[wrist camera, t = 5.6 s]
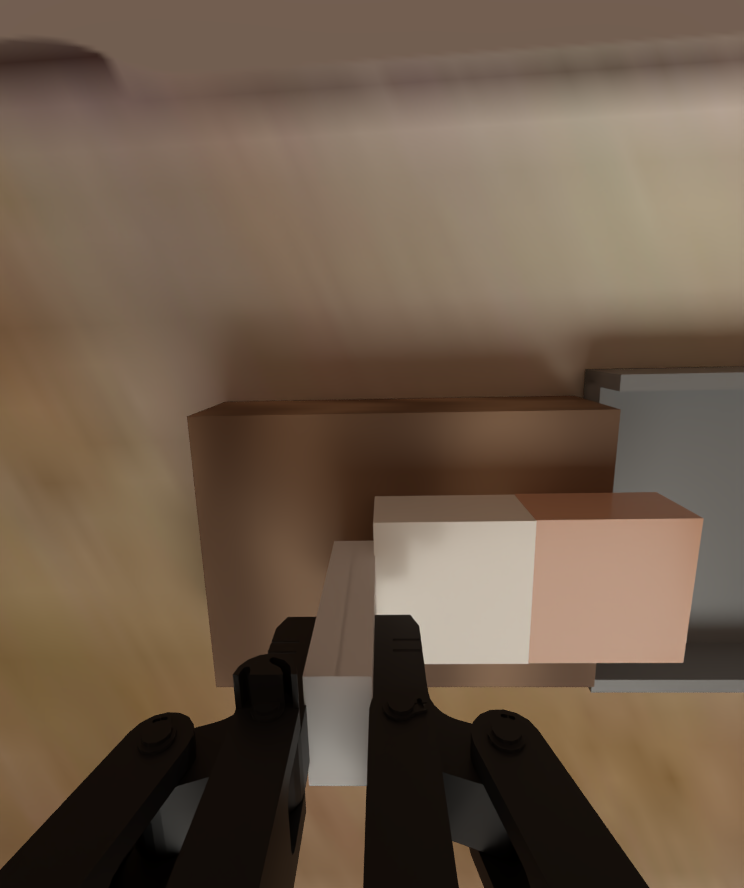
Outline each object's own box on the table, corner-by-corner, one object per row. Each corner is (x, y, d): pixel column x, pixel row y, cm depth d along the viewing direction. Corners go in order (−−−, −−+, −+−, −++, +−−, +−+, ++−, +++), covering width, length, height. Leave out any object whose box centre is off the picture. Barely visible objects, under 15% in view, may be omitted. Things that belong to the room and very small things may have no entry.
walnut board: (245, 627, 23) (216, 686, 19) (225, 401, 20) (187, 416, 16) (556, 626, 22) (594, 687, 18) (574, 395, 20) (621, 409, 16)
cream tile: (377, 620, 18) (376, 664, 15) (374, 496, 17) (372, 522, 14) (508, 619, 18) (528, 664, 15) (514, 494, 17) (536, 520, 14)
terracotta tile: (508, 619, 18) (528, 663, 15) (514, 493, 17) (536, 520, 14) (641, 618, 18) (683, 662, 15) (656, 492, 17) (703, 518, 14)
